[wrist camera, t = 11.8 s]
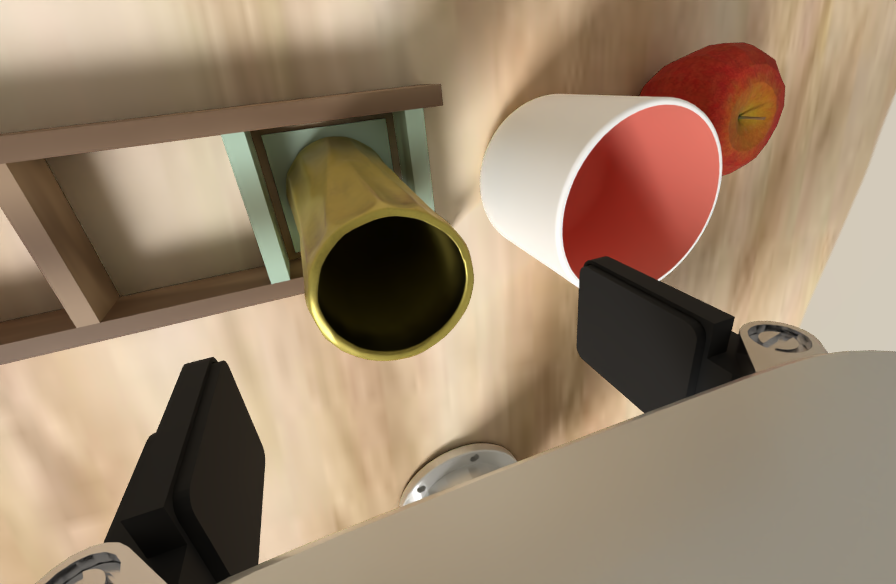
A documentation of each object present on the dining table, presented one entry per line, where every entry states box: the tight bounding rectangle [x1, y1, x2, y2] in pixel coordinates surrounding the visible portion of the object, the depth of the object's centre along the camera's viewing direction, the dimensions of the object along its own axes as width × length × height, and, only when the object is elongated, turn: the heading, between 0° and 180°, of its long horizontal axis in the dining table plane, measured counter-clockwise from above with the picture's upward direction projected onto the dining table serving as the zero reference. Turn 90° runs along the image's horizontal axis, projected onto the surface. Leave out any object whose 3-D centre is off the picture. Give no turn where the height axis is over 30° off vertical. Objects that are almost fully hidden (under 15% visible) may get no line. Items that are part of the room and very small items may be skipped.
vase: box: [286, 136, 474, 361], centre depth 19 cm, size 6×6×14 cm
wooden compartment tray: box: [0, 84, 443, 365], centre depth 21 cm, size 10×30×3 cm, turn 94°
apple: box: [640, 43, 785, 176], centre depth 27 cm, size 8×8×8 cm
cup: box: [480, 94, 722, 288], centre depth 25 cm, size 10×10×10 cm
